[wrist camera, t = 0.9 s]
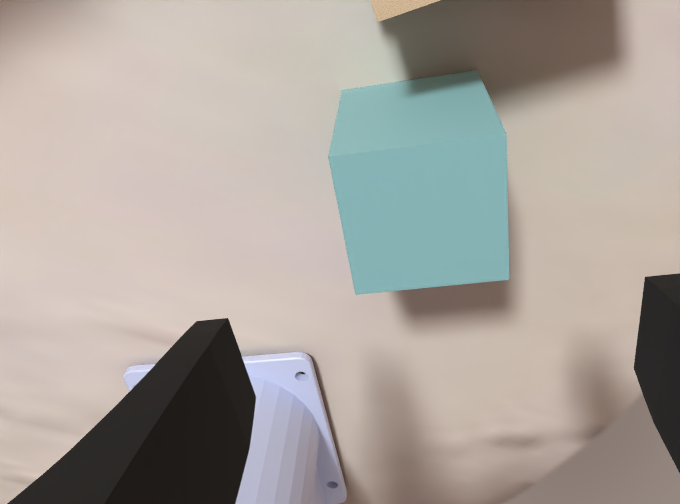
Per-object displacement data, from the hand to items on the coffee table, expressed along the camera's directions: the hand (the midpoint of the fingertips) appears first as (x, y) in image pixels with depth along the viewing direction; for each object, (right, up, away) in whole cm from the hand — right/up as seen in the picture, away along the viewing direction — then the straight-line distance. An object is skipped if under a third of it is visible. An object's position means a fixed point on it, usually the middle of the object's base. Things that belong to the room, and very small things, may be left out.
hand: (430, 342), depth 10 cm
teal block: (+1, +5, +8) cm, 10 cm away
